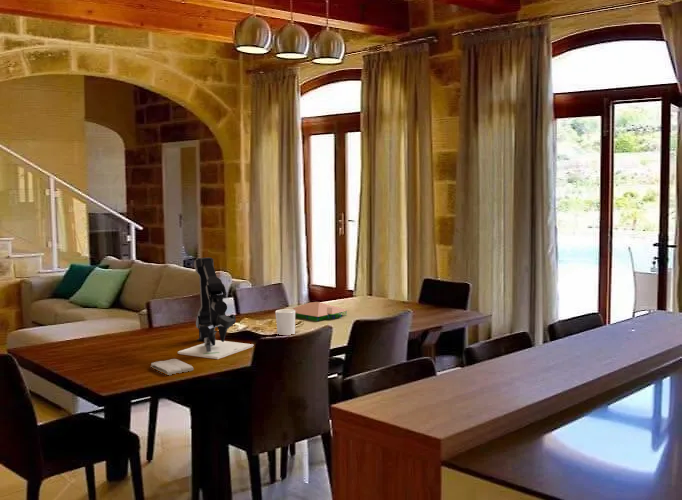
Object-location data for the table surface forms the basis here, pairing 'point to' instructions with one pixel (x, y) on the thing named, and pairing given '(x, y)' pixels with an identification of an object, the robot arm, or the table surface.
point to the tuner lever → (207, 344)
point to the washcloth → (172, 366)
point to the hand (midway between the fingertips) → (218, 343)
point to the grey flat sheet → (216, 349)
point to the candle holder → (285, 321)
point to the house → (319, 310)
